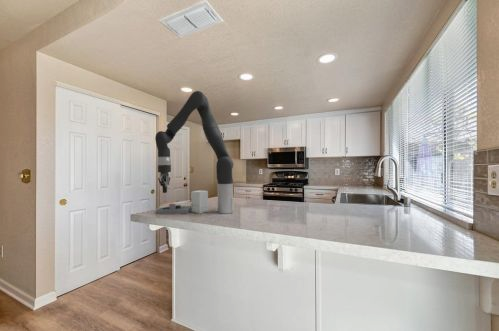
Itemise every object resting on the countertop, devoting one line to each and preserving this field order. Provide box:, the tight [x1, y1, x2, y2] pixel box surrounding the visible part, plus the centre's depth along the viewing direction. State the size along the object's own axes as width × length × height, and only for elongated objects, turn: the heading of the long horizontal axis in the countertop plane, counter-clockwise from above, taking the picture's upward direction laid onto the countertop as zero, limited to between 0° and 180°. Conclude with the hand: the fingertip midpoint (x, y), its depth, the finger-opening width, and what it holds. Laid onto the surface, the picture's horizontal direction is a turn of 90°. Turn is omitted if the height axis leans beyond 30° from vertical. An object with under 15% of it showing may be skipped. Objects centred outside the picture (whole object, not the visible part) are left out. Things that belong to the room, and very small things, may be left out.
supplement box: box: [190, 189, 209, 214], centre depth 132 cm, size 7×7×13 cm
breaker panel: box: [155, 200, 191, 215], centre depth 133 cm, size 18×12×6 cm, turn 89°
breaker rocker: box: [159, 199, 191, 208], centre depth 133 cm, size 16×8×1 cm, turn 89°
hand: (164, 192), depth 133 cm, fingers closed
